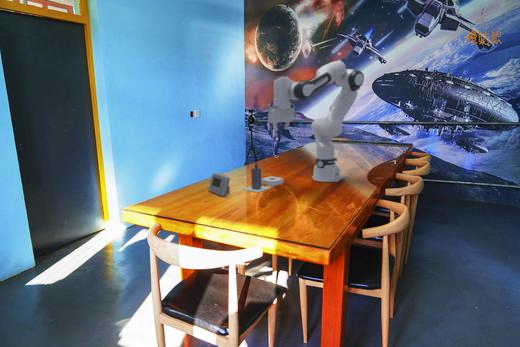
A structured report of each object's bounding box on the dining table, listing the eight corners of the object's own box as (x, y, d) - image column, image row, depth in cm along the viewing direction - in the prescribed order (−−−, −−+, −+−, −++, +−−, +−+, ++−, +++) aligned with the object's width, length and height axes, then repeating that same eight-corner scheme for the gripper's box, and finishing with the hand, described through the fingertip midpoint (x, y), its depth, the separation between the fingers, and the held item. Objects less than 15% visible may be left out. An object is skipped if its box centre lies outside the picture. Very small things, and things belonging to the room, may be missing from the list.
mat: (255, 185, 216) (255, 184, 216) (270, 188, 208) (270, 187, 208) (241, 189, 207) (241, 188, 207) (257, 192, 199) (257, 192, 199)
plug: (256, 187, 210) (256, 162, 207) (261, 188, 208) (261, 163, 204) (251, 188, 207) (251, 163, 204) (256, 189, 205) (256, 164, 201)
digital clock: (207, 190, 205) (207, 173, 202) (222, 189, 209) (221, 171, 206) (217, 198, 190) (216, 178, 188) (232, 195, 194) (232, 177, 192)
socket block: (271, 180, 227) (271, 176, 226) (283, 183, 220) (283, 178, 220) (260, 183, 219) (260, 179, 219) (273, 186, 213) (273, 181, 212)
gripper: (274, 106, 190) (274, 131, 193) (296, 105, 205) (295, 129, 208) (265, 106, 194) (265, 131, 197) (287, 105, 209) (287, 128, 212)
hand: (281, 130), depth 203 cm, fingers open, 8 cm apart
